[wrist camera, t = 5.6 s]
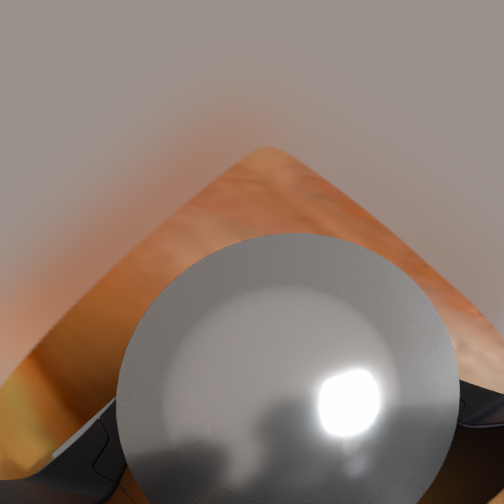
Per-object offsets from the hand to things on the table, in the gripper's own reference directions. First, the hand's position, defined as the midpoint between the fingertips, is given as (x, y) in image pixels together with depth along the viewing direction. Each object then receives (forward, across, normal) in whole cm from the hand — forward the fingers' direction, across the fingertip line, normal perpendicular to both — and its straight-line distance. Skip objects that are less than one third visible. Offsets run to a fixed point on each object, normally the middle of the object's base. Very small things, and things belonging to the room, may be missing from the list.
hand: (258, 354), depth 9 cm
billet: (+4, 0, +6) cm, 7 cm away
